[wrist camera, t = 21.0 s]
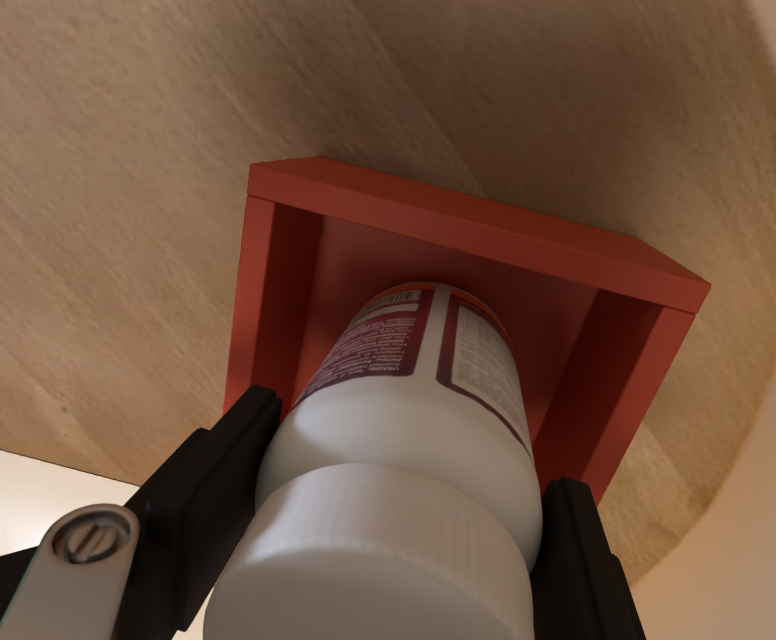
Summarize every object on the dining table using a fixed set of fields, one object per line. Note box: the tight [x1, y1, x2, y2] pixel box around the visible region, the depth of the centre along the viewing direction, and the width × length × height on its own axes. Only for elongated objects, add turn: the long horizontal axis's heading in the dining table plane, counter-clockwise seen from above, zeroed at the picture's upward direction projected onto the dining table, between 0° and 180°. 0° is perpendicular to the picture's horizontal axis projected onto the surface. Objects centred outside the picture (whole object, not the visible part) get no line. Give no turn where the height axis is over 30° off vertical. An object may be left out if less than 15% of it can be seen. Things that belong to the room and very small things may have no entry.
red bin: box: [222, 156, 711, 508], centre depth 17 cm, size 12×12×6 cm
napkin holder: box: [0, 450, 214, 640], centre depth 24 cm, size 15×11×6 cm
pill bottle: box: [203, 282, 543, 640], centre depth 12 cm, size 6×6×11 cm
